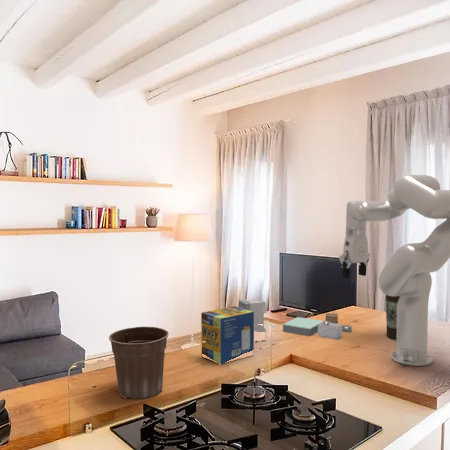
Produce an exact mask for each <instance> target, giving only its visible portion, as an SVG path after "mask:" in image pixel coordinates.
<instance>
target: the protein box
mask: <svg viewBox="0 0 450 450" xmlns="http://www.w3.org/2000/svg"><path fill="white" fill-rule="evenodd" d="M200 313H201V315H200V316H201V319H200V320H201V322H200V323H201V326H200V327H201V331H200V332H201V355H202V354H204V355H206V356H207V357H209V358H210V359H212V360H214V361H216V362H217V363H219V364H222V365H224V364H223V363H225V362H227V361H229V360H231V359H234V358H236V357H238V356H240V355H242V354H244V353H247V352H250V351H252V350H254V349H255V348H254V346H255V342H254V312H252V311H249V310H245V309H242V308H239V306H238V307H237V306H234V305H233V306H228V307H225V308H220V309H214V310H209V311H204V312H200ZM202 341H206V342H205V343H203V342H202ZM217 363H216V364H217ZM219 364H218V365H219Z"/></svg>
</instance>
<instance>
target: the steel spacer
mask: <svg viewBox="0 0 450 450" xmlns="http://www.w3.org/2000/svg"><path fill="white" fill-rule="evenodd" d="M352 332H353V327H352V326H351V325H343V324H342V333H352Z"/></svg>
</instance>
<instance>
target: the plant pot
mask: <svg viewBox="0 0 450 450" xmlns="http://www.w3.org/2000/svg"><path fill="white" fill-rule="evenodd" d="M168 337H169V331H168V330H166V329H164V328H162V327H156V326H135V327H128V328H122V329H119V330H116V331H114V332H112V333H111V334H109V337H108V340H109V341H110V343H111V344H110V345H111V351H112V353H113V358H114V359H113V360H114V365H115V375H116V383H117V390H118V391H119V392H118V394H119V393H120V394H121V395H122V396H124V397H126V398H125V399H128V398H131V399H132V400H146V399H150V398H153V397H155V396H157V395H158V394H159V393H160V392H162V390H163V381H164V379H163V377H164V368H165V367H164V365H165V354H166V353H165V351H166V349H167V341H168V340H167V339H168ZM120 394H119V395H120ZM122 396H121V397H122ZM124 397H123V398H124Z"/></svg>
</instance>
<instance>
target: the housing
mask: <svg viewBox="0 0 450 450" xmlns="http://www.w3.org/2000/svg"><path fill="white" fill-rule="evenodd" d="M322 321H323V322H321V323H319V324H318V332H317V337H319V338H320V337H321V338H326V339H331V340H336V341H337V340H339V339H341V338H342V337H343V332H342V326H343V324H342V323H338V324H337V323H330V322H329V321H326V320H322Z"/></svg>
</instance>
